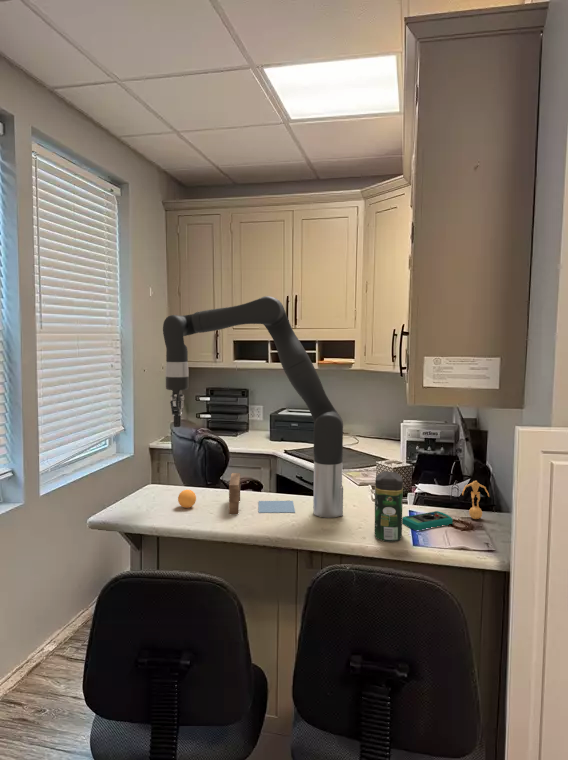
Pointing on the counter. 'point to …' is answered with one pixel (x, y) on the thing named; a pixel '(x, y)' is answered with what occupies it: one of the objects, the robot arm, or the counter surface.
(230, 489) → the bridge
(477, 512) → the figurine
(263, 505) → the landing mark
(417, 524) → the digital multimeter
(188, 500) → the ball
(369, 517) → the counter surface
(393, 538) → the coffee jar
